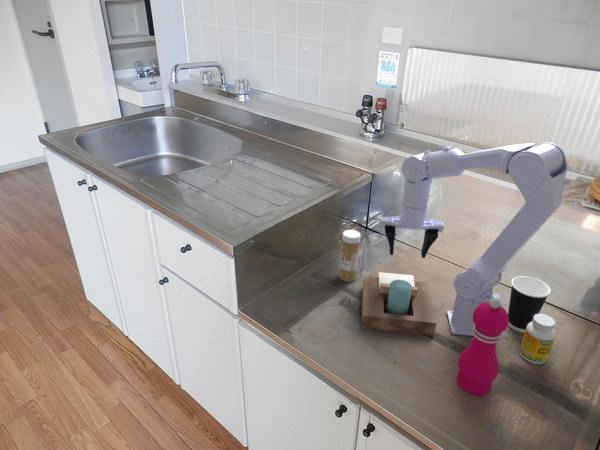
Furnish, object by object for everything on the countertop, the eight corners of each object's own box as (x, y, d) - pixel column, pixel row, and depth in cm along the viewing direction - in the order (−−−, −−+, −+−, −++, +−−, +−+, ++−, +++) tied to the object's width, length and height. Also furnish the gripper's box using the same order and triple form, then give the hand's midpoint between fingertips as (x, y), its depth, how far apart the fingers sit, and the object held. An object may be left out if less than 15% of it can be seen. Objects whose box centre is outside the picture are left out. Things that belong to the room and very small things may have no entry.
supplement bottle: (531, 344, 98) (542, 308, 94) (552, 360, 94) (565, 324, 90) (513, 351, 96) (524, 315, 92) (534, 368, 92) (546, 331, 88)
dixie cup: (500, 311, 109) (510, 272, 104) (536, 319, 106) (549, 280, 101) (500, 331, 102) (512, 291, 97) (539, 340, 99) (552, 299, 94)
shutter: (412, 278, 114) (414, 268, 113) (415, 299, 106) (417, 289, 105) (378, 274, 115) (379, 265, 114) (378, 295, 107) (380, 285, 106)
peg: (405, 312, 107) (411, 280, 103) (407, 325, 103) (412, 293, 99) (385, 310, 108) (389, 278, 104) (386, 323, 104) (390, 290, 100)
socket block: (426, 293, 114) (428, 282, 113) (433, 335, 100) (436, 323, 99) (362, 287, 116) (363, 276, 115) (361, 327, 102) (362, 315, 100)
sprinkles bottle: (335, 276, 121) (338, 232, 114) (348, 271, 123) (352, 227, 117) (347, 284, 117) (351, 239, 111) (360, 278, 120) (364, 234, 114)
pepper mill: (472, 402, 84) (495, 316, 75) (446, 375, 90) (465, 292, 81) (501, 391, 86) (527, 306, 77) (474, 365, 92) (495, 284, 83)
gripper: (444, 199, 108) (435, 249, 114) (382, 195, 109) (377, 243, 116) (448, 212, 101) (438, 263, 108) (383, 206, 103) (377, 257, 109)
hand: (407, 254), depth 111 cm, fingers open, 7 cm apart
